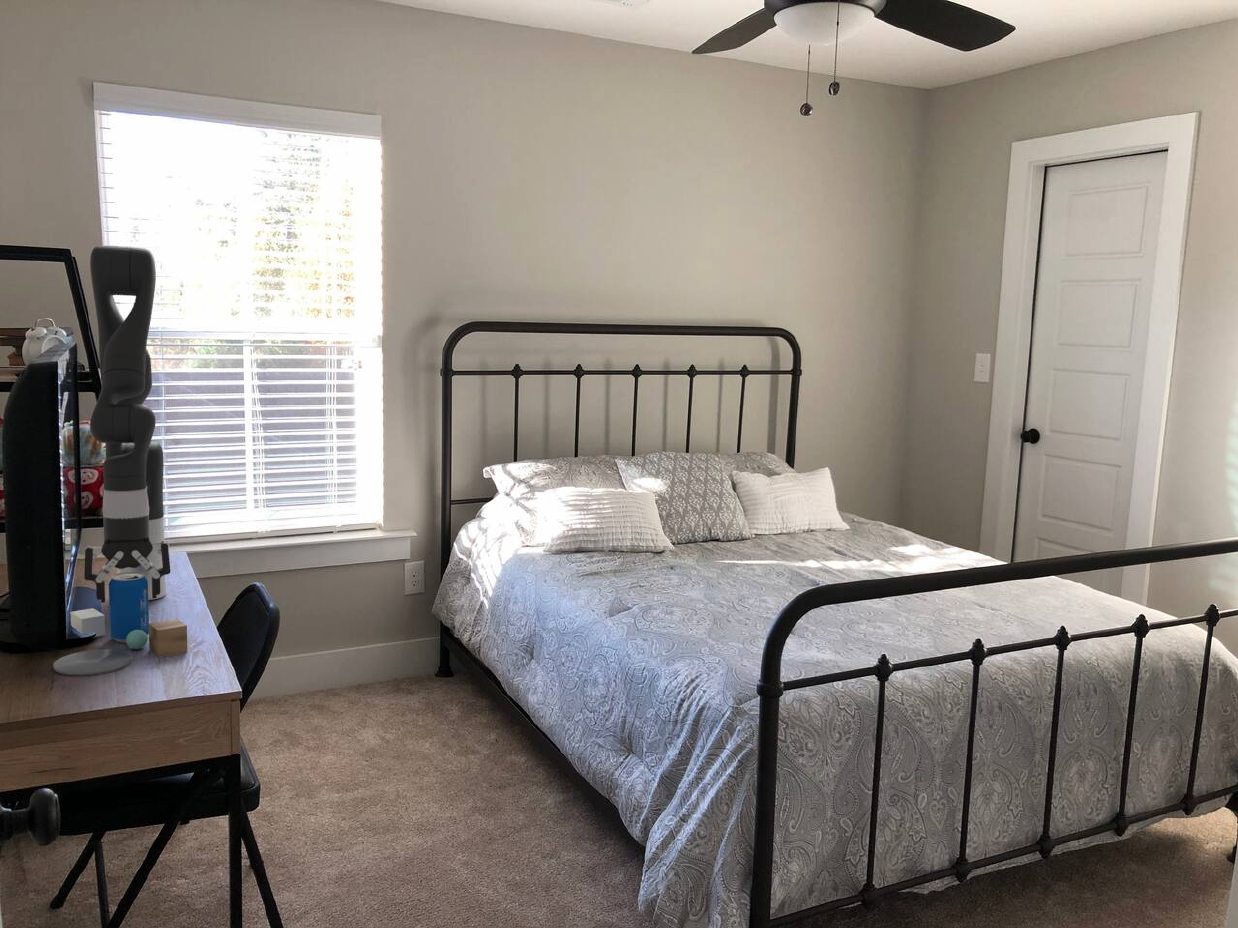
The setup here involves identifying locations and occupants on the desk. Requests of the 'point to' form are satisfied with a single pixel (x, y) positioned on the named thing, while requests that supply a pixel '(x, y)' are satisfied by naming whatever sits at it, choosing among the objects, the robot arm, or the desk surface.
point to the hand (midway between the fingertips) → (128, 599)
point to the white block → (88, 621)
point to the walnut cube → (168, 637)
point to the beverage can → (128, 604)
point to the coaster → (92, 662)
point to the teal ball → (136, 639)
